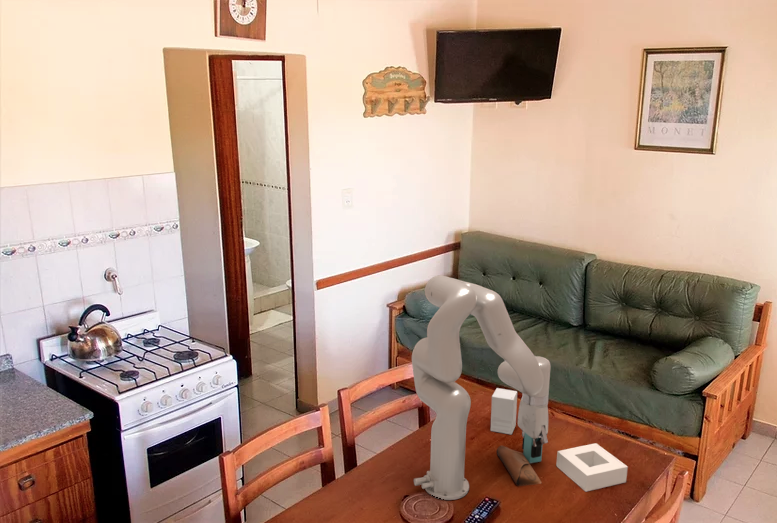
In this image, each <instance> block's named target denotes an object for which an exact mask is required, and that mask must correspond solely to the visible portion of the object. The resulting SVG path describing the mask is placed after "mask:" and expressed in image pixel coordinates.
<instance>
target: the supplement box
mask: <svg viewBox="0 0 777 523" xmlns="http://www.w3.org/2000/svg"><path fill="white" fill-rule="evenodd" d="M517 405H518V390H512V389H505V388H499V387H496V389H495V390H494V392H493V394H492V395H491V408H490V409H491V410H490V411H491V412H490V413H491V414H490V432H494V433H500V434H506V435H512V436H513V432H514V430H515V427H516V426H517V424H516V423H517Z"/></svg>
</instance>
